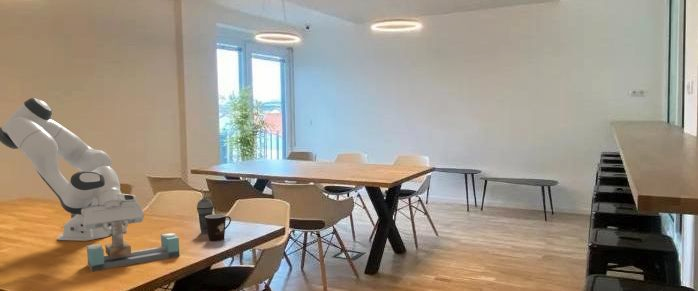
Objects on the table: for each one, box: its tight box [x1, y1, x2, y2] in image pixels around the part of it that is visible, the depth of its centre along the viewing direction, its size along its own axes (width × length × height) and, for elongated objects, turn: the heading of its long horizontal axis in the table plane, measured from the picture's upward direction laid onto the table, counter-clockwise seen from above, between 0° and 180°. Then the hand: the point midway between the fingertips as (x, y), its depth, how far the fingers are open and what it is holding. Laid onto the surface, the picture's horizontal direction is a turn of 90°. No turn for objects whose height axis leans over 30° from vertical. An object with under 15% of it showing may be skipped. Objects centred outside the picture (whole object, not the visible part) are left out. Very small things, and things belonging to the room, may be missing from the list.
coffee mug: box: [205, 213, 232, 242], centre depth 219 cm, size 12×9×10 cm
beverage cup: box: [196, 188, 214, 235], centre depth 230 cm, size 7×7×20 cm
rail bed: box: [86, 232, 181, 272], centre depth 189 cm, size 30×10×8 cm, turn 124°
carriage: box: [104, 221, 132, 258], centre depth 186 cm, size 7×9×12 cm
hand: (117, 233), depth 185 cm, fingers closed on carriage, 3 cm apart
